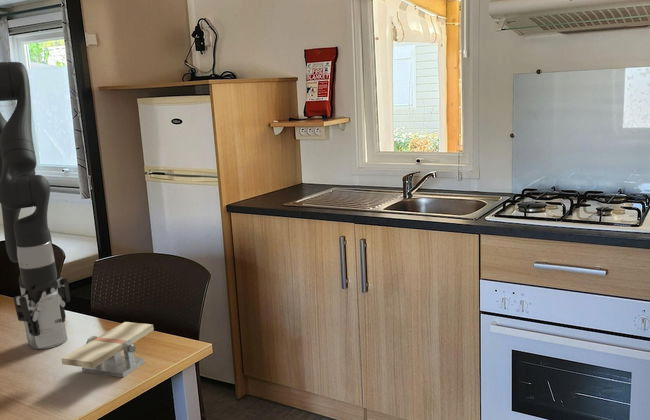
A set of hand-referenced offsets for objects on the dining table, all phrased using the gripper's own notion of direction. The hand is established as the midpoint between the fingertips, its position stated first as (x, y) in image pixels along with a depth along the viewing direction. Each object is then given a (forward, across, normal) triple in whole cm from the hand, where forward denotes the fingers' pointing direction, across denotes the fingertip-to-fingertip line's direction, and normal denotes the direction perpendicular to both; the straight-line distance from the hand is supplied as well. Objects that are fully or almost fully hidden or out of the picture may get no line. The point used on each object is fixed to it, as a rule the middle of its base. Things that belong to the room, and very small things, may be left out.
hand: (48, 328), depth 146 cm
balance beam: (+7, +8, -10) cm, 15 cm away
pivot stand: (+13, +8, -10) cm, 18 cm away
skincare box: (+4, 0, 0) cm, 4 cm away
